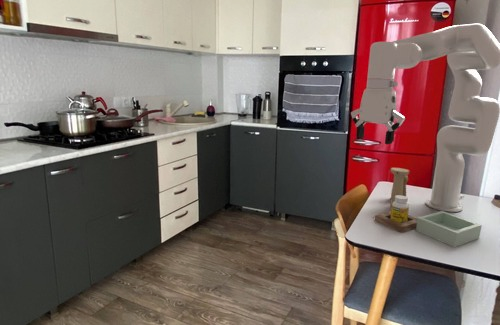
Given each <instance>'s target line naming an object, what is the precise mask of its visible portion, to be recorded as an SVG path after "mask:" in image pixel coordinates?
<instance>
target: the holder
mask: <svg viewBox="0 0 500 325" xmlns="http://www.w3.org/2000/svg"><path fill="white" fill-rule="evenodd" d="M390 218H391V210H390V211H387V212H386V211H385V212H383V213H378V214H375V215H374V222H377V223H379V224H381V225H383V226H386V227H387V228H389V229H392V230H394V231H397V232H399V233H404V232H407V231H412V230H416V226H417V219H418V217H415V216H413V215H410V214H408V219H407V222H403V223H399V222H397V221H394V220H392V219H390Z"/></svg>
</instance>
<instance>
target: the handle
mask: <svg viewBox="0 0 500 325" xmlns="http://www.w3.org/2000/svg"><path fill="white" fill-rule="evenodd" d="M390 173H391V174H393V182H392V188H391V194H390V207H391V208H392V203H393V202H394V201H395V196H396V195H403V181H404V176H406V175H407V176H408V175H409V174H410V170H409V169H406V168H401V167H390Z"/></svg>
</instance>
